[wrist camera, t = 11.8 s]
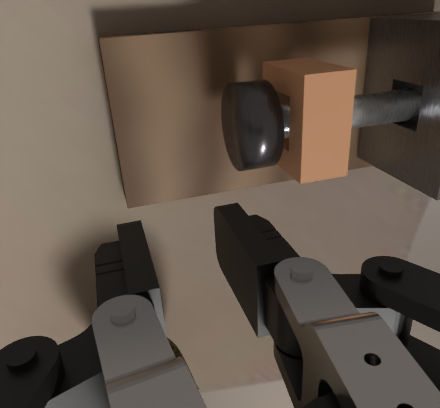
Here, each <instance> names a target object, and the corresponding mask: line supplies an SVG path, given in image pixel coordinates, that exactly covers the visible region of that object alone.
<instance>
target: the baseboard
mask: <svg viewBox="0 0 440 408" xmlns="http://www.w3.org/2000/svg"><path fill="white" fill-rule="evenodd" d="M427 13H440V12H422V13H409V14H395V15H382V16H369V17H356V18H343V19H329V20H316V21H303V22H290V23H276V24H263V25H250V26H237V27H224V28H210V29H197V30H184V31H171V32H157V33H144V34H131V35H118V36H105V37H98V38H99V44H100V50H101V56H102V62H103V68H104V73H105V79H106V85H107V91H108V97H109V103H110V109H111V115H112V121H113V127H114V132H115V138H116V144H117V150H118V156H119V162H120V168H121V174H122V180H123V185H124V191H125V197H126V202H127V207H128V208H133V207H139V206H144V205H150V204H156V203H162V202H167V201H173V200H179V199H185V198H190V197H196V196H202V195H208V194H213V193H219V192H225V191H231V190H236V189H242V188H248V187H253V186H259V185H265V184H271V183H276V182H282V181H288V180H294V178H293V177H291V176H290V175H289V174H288V173H287V172H285V171H284V170H283V169H282V168H280V167H279V166H278V165H277V164H276V165H275V166H270V167H264V168H258V169H252V170H246V171H238V170H236V169H235V168H234V166H233V165H232V163H231V161H230V158H229V156H228V153H227V150H226V146H225V142H224V137H223V131H222V121H221V102H222V95H223V91H224V88H225V86H226V85H227V84H228V83H235V82H244V81H254V80H263V62H267V61H277V60H287V59H297V58H310V59H315V60H319V61H323V62H328V63H332V64H336V65H341V66H345V67H349V68H354V69H357V73H356V84H355V95H358V94H363V88H364V78H365V68H366V58H367V48H368V38H369V28H370V18H375V17H388V16H401V15H414V14H427ZM276 92H277V95H278V97H279V100H280V104H287V103H290V97H289V96H287V95H285V94H282V93H280V92H278V91H276ZM359 129H360V127H359V128H352V129H351V139H350V149H349V160H348V170H351V169H357V168H363V167H368V166H373V165H371V164H369V163H367V162H365V161H363V160H362V159H360V158H358V157H357V149H358V139H359Z"/></svg>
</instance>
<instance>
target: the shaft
mask: <svg viewBox="0 0 440 408" xmlns="http://www.w3.org/2000/svg"><path fill="white" fill-rule="evenodd" d="M421 100H422V97H421V95H420V93H419V91H418V90H416V89H415V88H406V89H398V90H390V91H382V92H374V93H366V94H358V95H354V106H353V117H352V128H359V127H366V126H372V125H379V124H386V123H393V122H399V121H406V120H413V119H415V118H417V117H418V116H419V112H420V106H421ZM221 121H222V131H223V137H224V142H225V146H226V150H227V153H228V156H229V158H230V161H231V163H232V165H233V166H234V168H235V169H236V170H238V171H246V170H252V169H258V168H264V167H270V166H275V165H276V164H277V163H278V162H279V160H280V158H281V156H282V152H283V147H284V138H289V127H290V103H287V104H280V100H279V97H278V95H277V92H276V90H275V88H274V87H273V85H272V84H271V83H270V82H269V81H267V80H265V79H263V80H254V81H244V82H235V83H228V84H227V85H226V86H225V88H224V91H223V95H222V102H221ZM352 128H351V129H352Z"/></svg>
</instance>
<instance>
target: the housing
mask: <svg viewBox="0 0 440 408" xmlns="http://www.w3.org/2000/svg"><path fill="white" fill-rule="evenodd" d="M406 88H415V89H416V90H418V91H419V93H420V95H421V97H422V100H421V106H420V112H419V116H418V117H417V118H415V119H413V120H406V121H399V122H393V123H386V124H379V125H372V126H366V127H360V129H359V139H358V149H357V157H358V158H360V159H362V160H363V161H365V162H367V163H369V164H371V165H373V166H375V167H376V168H378V169H380V170H382V171H384V172H386V173H387V174H389V175H391V176H393V177H395V178H397V179H399V180H400V181H402V182H404V183H406V184H408V185H410V186H411V187H413V188H415V189H417V190H419V191H421V192H422V193H424V194H426V195H428V196H430V197H432V198H434V199H435V200H440V13H427V14H414V15H401V16H388V17H375V18H370V28H369V38H368V48H367V58H366V68H365V78H364V88H363V94H366V93H374V92H382V91H390V90H398V89H406Z"/></svg>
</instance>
